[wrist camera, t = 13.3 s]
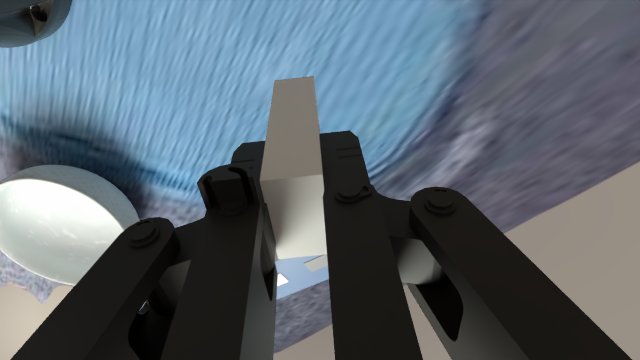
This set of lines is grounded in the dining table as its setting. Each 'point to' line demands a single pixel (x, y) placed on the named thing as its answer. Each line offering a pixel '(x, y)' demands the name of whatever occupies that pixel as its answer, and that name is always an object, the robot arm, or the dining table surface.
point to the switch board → (300, 273)
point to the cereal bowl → (60, 220)
